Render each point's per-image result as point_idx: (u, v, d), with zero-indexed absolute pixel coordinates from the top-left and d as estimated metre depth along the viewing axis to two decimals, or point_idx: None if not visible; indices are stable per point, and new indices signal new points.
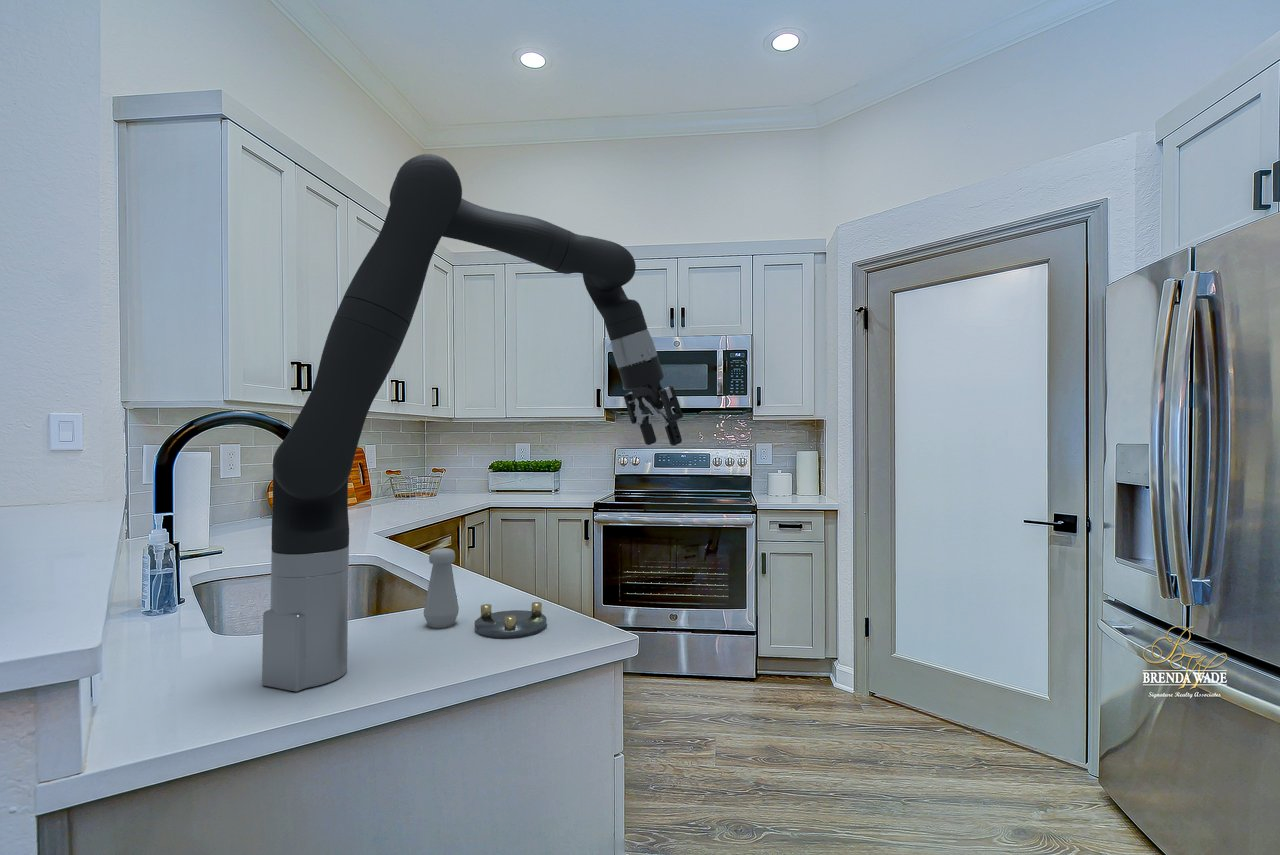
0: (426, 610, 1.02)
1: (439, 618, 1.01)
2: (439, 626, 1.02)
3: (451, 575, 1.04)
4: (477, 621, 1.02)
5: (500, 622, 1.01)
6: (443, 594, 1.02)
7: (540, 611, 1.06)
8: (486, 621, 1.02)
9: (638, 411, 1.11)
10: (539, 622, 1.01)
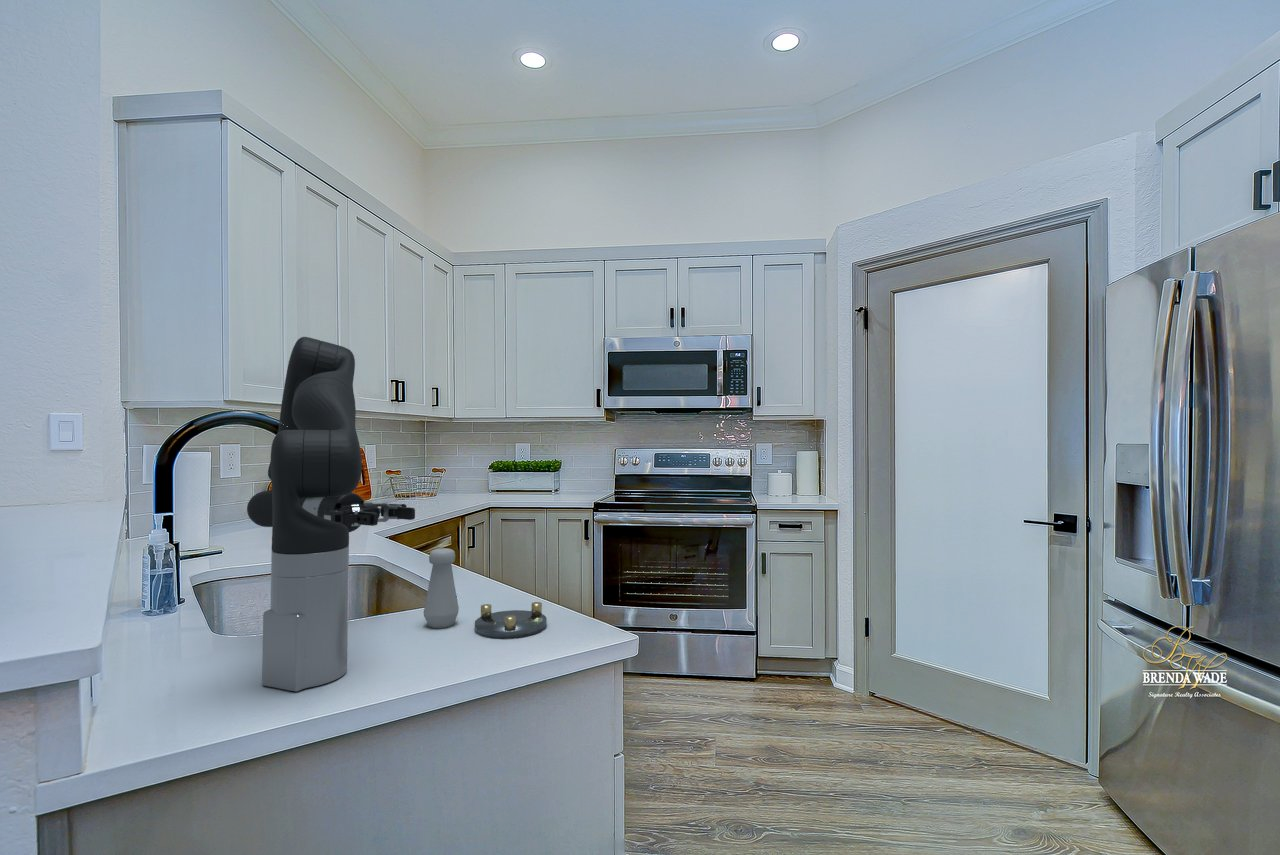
0: (426, 610, 1.02)
1: (439, 618, 1.01)
2: (439, 626, 1.02)
3: (451, 575, 1.04)
4: (477, 621, 1.02)
5: (500, 622, 1.01)
6: (443, 594, 1.02)
7: (540, 611, 1.06)
8: (486, 621, 1.02)
9: (357, 506, 1.10)
10: (539, 622, 1.01)
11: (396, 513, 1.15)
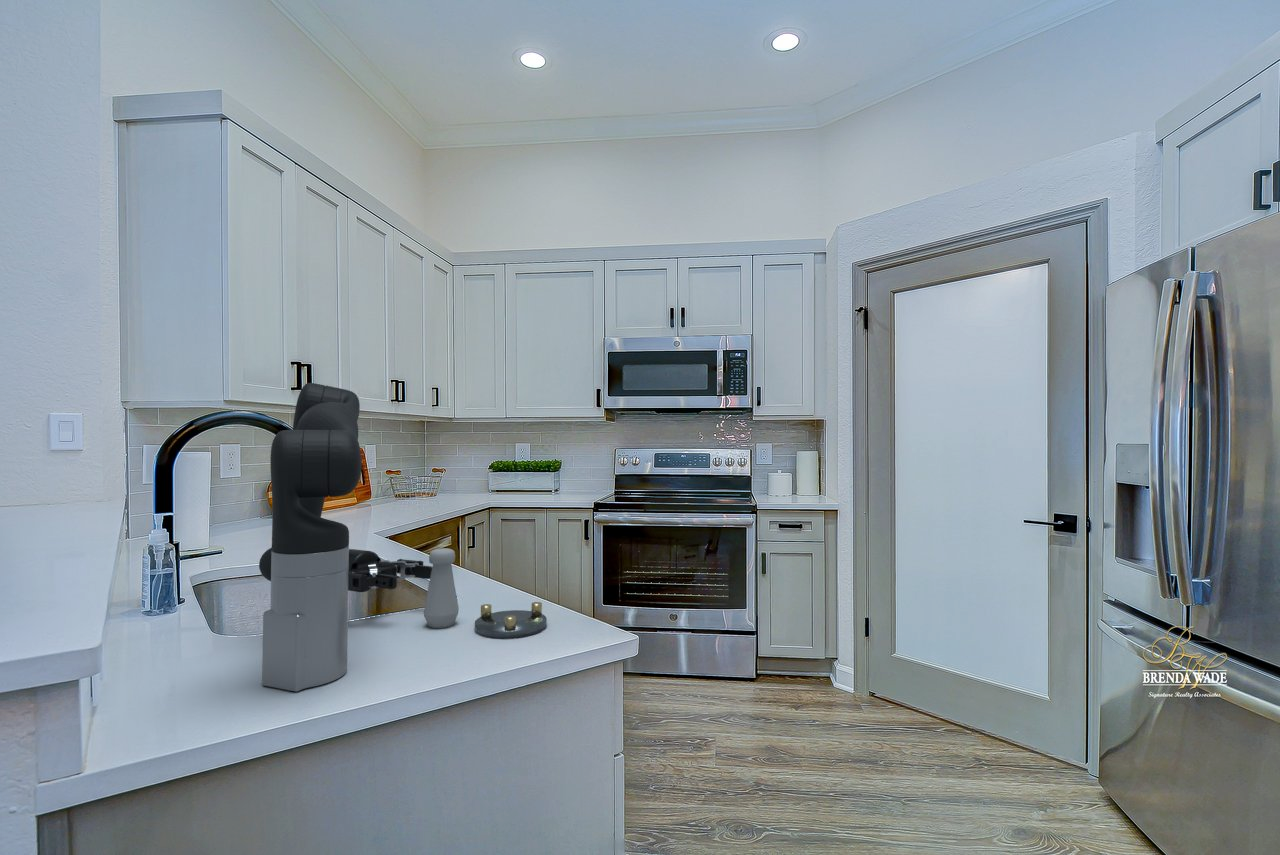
0: (426, 610, 1.02)
1: (439, 618, 1.01)
2: (439, 626, 1.02)
3: (451, 575, 1.04)
4: (477, 621, 1.02)
5: (500, 622, 1.01)
6: (443, 594, 1.02)
7: (540, 611, 1.06)
8: (486, 621, 1.02)
9: (374, 567, 1.08)
10: (539, 622, 1.01)
11: (413, 571, 1.12)
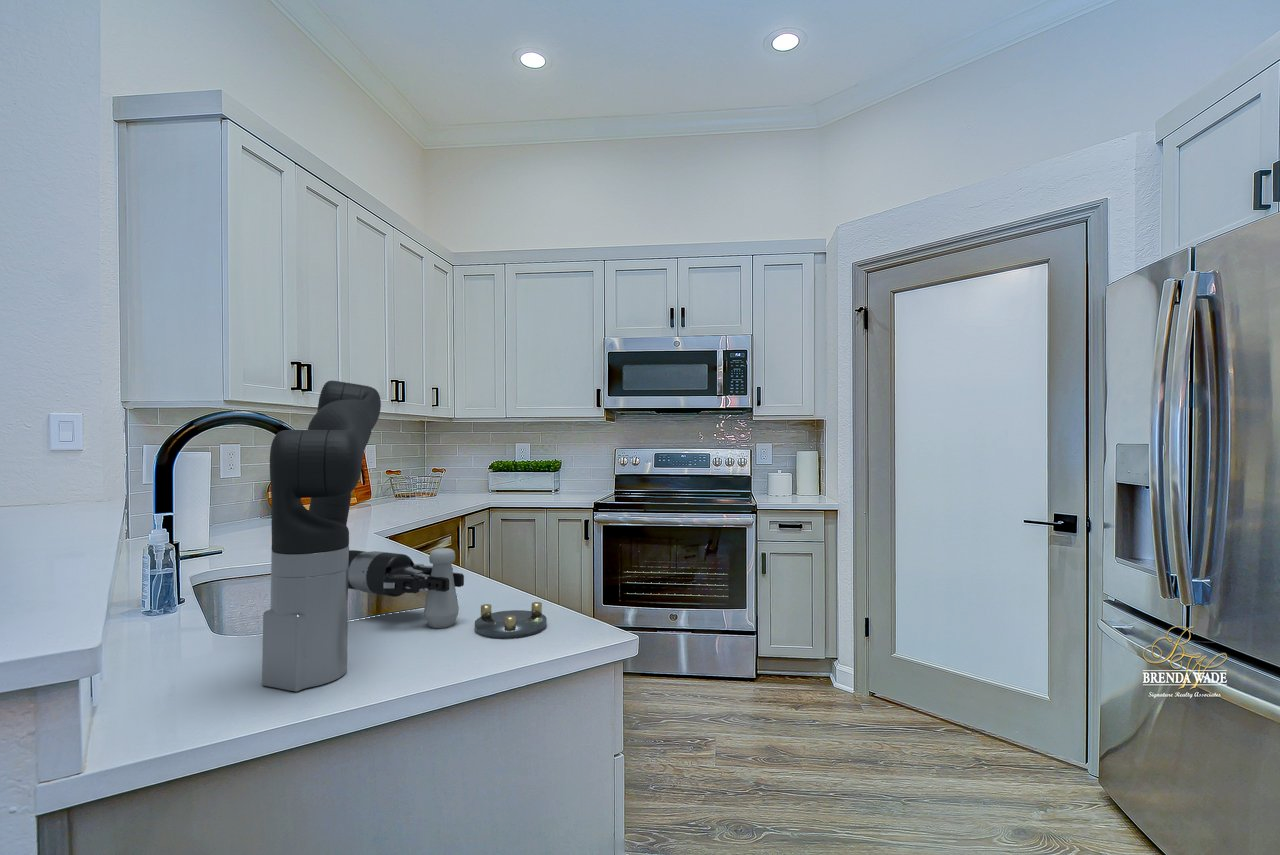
0: (426, 610, 1.02)
1: (439, 618, 1.01)
2: (439, 626, 1.02)
3: (451, 575, 1.04)
4: (477, 621, 1.02)
5: (500, 622, 1.01)
6: (443, 594, 1.02)
7: (540, 611, 1.06)
8: (486, 621, 1.02)
9: (415, 570, 1.05)
10: (539, 622, 1.01)
11: None
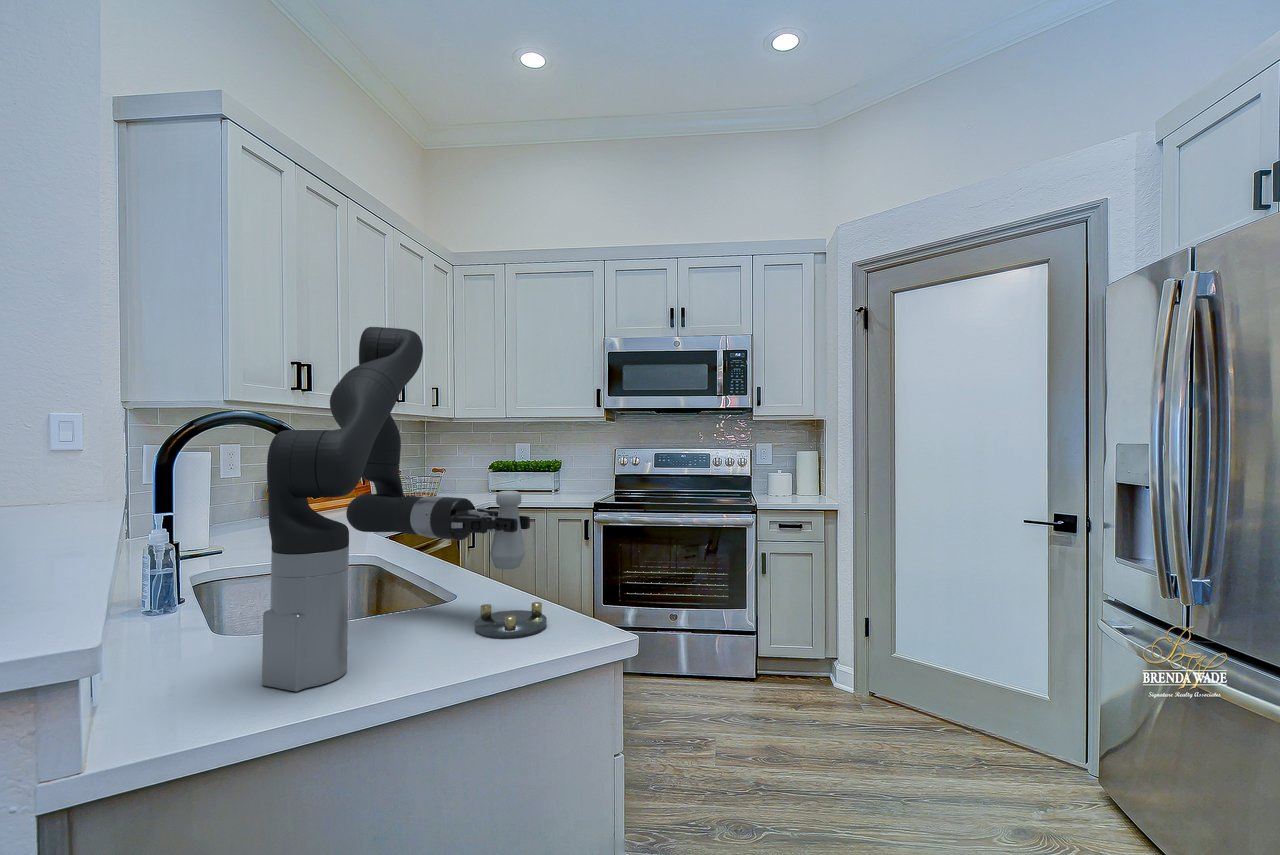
0: (493, 551, 1.01)
1: (507, 559, 1.01)
2: (506, 567, 1.01)
3: (518, 517, 1.03)
4: (477, 621, 1.02)
5: (500, 622, 1.01)
6: (511, 535, 1.02)
7: (540, 611, 1.06)
8: (486, 621, 1.02)
9: (480, 512, 1.04)
10: (539, 622, 1.01)
11: None
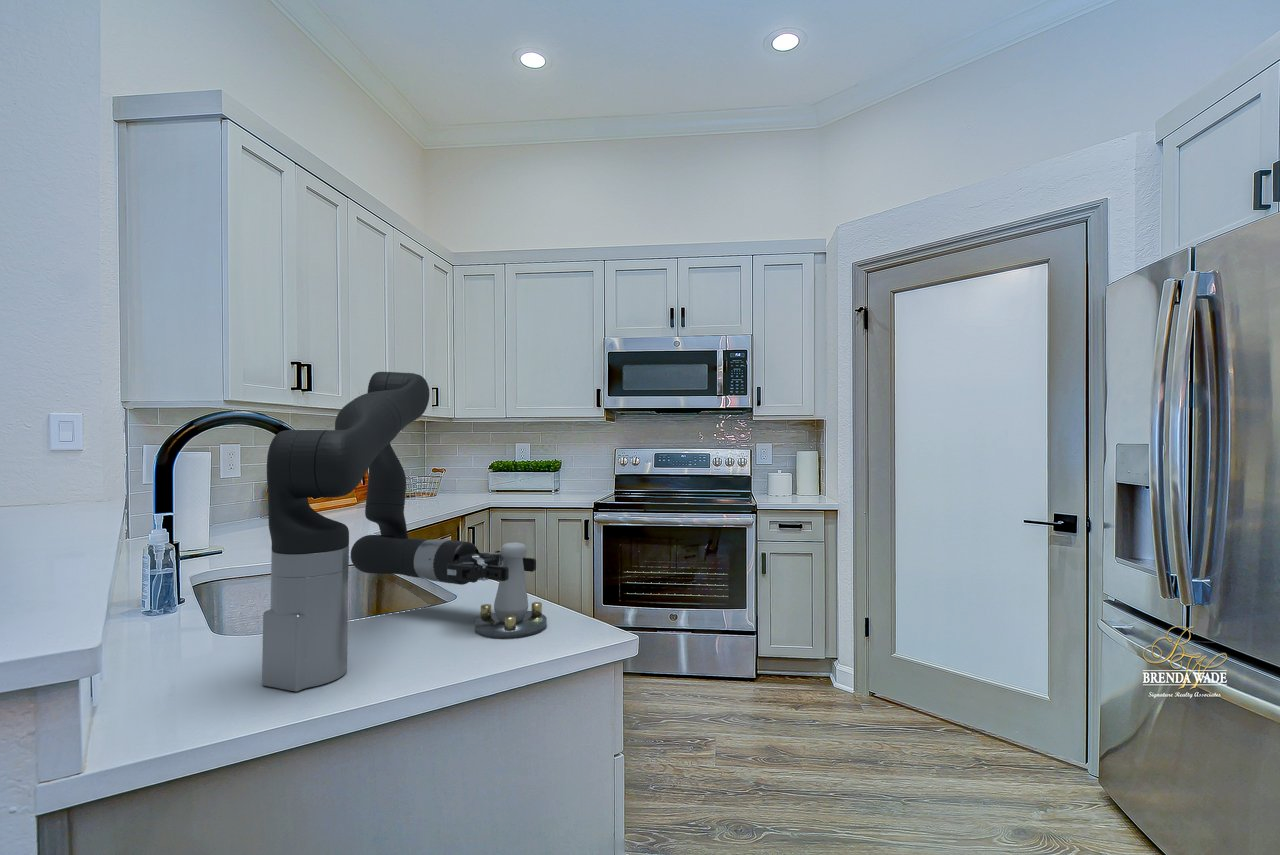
0: (497, 604, 1.01)
1: (510, 613, 1.00)
2: None
3: (522, 570, 1.03)
4: (477, 621, 1.02)
5: (500, 622, 1.01)
6: (515, 589, 1.01)
7: (540, 611, 1.06)
8: (486, 621, 1.02)
9: (479, 558, 1.03)
10: (539, 622, 1.01)
11: None
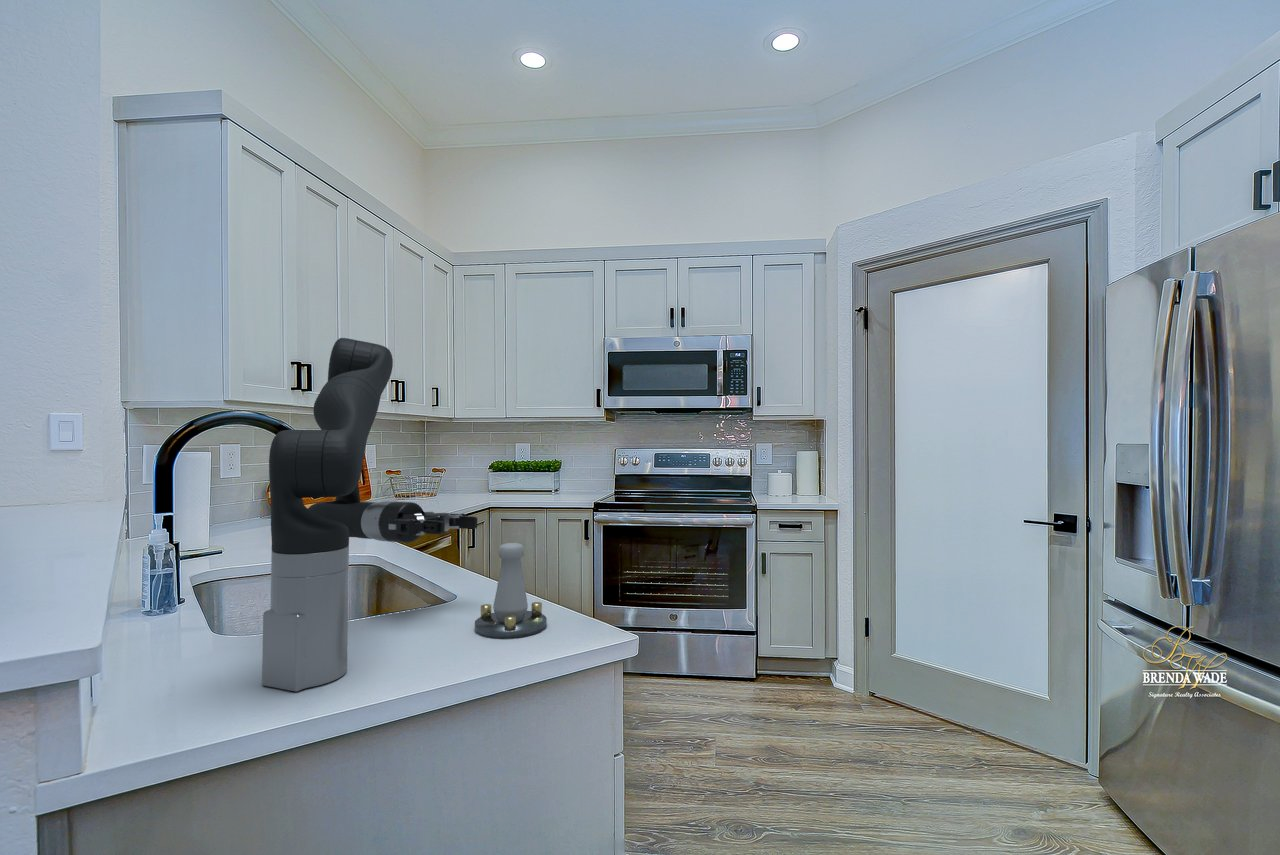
0: (496, 605, 1.01)
1: (510, 613, 1.00)
2: None
3: (520, 570, 1.03)
4: (477, 621, 1.02)
5: (500, 622, 1.01)
6: (514, 589, 1.01)
7: (540, 611, 1.06)
8: (486, 621, 1.02)
9: (421, 515, 1.08)
10: (539, 622, 1.01)
11: (457, 522, 1.13)
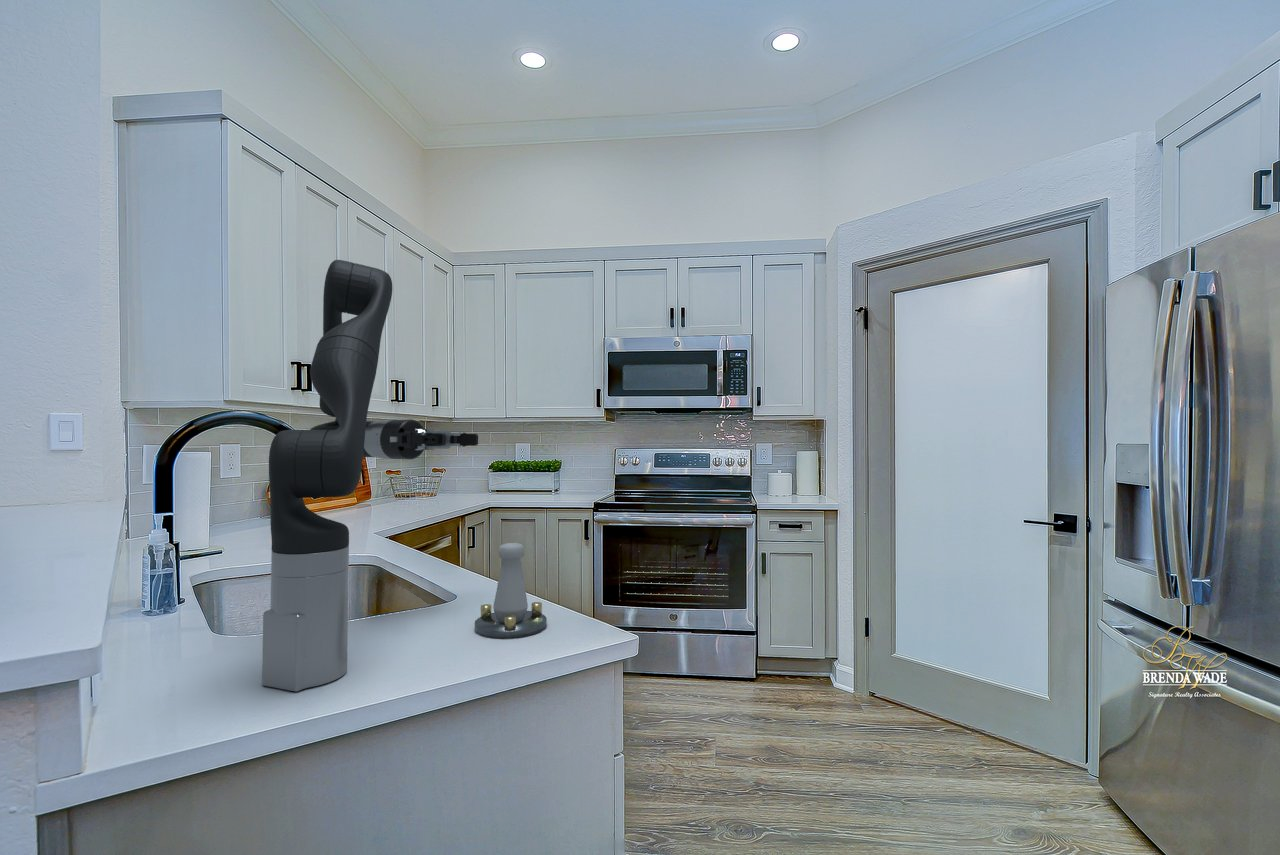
0: (496, 605, 1.01)
1: (510, 613, 1.00)
2: None
3: (520, 570, 1.03)
4: (477, 621, 1.02)
5: (500, 622, 1.01)
6: (514, 589, 1.01)
7: (540, 611, 1.06)
8: (486, 621, 1.02)
9: None
10: (539, 622, 1.01)
11: (458, 440, 1.14)
